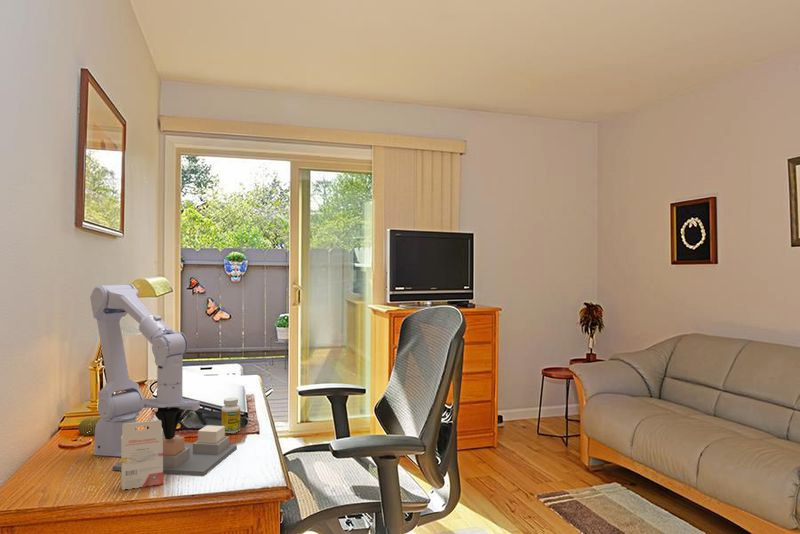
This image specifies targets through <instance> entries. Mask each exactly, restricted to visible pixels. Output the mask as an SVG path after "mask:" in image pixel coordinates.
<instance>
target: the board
mask: <svg viewBox="0 0 800 534" xmlns="http://www.w3.org/2000/svg"><path fill="white" fill-rule="evenodd" d="M175 436H176V437H181V435H179V434H175ZM237 448H238V445H235V444H230V436H226V435H225V438H224V439H223V440H222V441H220V442H219V443H218V444H208V443H198V439H197V440H195V442H185V448H184V450H183V451H182V452H180V453H179V454H177V455H176V456H163V475H165V474H166V475H167V474H169V475H180V474H182V475H183V476H198V477H199V476H200V477H201V476H202V477H204V476H206V475H207V474H208V473H209V472H210V471H212V470H213V469H214V468H215V467H217V466H218V465H219V464H220V463H221V462H222V461H224V460H225V459H226V458H228V457H229V456H230V455H231V454H233V452H235V451H236V450H237ZM113 470H119V471H118V472H121V461H119V462H118V463H116V464H114V465H113V466H112V471H113ZM182 475H181V476H182Z"/></svg>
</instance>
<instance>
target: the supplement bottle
mask: <svg viewBox="0 0 800 534" xmlns="http://www.w3.org/2000/svg"><path fill="white" fill-rule="evenodd" d="M238 403H239V399H238V397H226V398H224V400H223V406H222V408H221V426H225V434H226V433H231V434H236V432H237V433H239V432H240V431H241V406H240V405H239V404H238ZM238 431H239V432H238Z"/></svg>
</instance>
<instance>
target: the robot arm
mask: <svg viewBox="0 0 800 534" xmlns="http://www.w3.org/2000/svg"><path fill="white" fill-rule="evenodd" d="M89 298H90V305H91V311H92V316H93V318H94V319H96V323H97V330H98V335H99V341H100V346H101V347H100V348H101V353H102V360H103V365H104V370H105V377H106V384H105V385H104V386H103V387H102V388H101V389H100V390H99V391H98V392H97V396H98V403H97V411H98V414H99V417H102V418H101V419H100V420H99V421H98V422H97V424H96V427H95V434H94V452H92V455H93V456H103V457H104V456H105V457H119V458H120V457H121V437H122V425H123V424H125V423H135V422H137V417H139V416H140V412H142V410H143V409H145V408H146V409H157V410H156V411H155V412H154V415H155V418H157V420H161V422H162V429H163V432H164V436H165V439H172V438H174V436H175V435H176V430H177V428H178V424H179V422H180V419H181V418H182V417H181V416H182V414H183V413H184V411H185V410H189V411H190V410H191V411H193V412H195V411H198V410H199V409H200V408H201V407H200V406H201V405H200V404H201V403H200V400H194V399H189V398H188V399H187V398H183V361H184V360H183V359H184V358H183V356H184V355H186V353H187V351H188V349H189V344H188V343H189V342H188V339H187V337H186V335H185V333H184V332H180V331H176V330H173V329H172V328H171V327H170V326H169V325H168V324H167V323H166V321H164V320H163V319H162V317H161V315H158V314H151V313H150V311H149V309H148V308H147V307H146V306H145V304H144V303H143V302H142V301H141V300H140V293H139V290H138V289H137V288H136V287H135V285H134V284H133V283H127V284H111V285H110V284H108V285H107V284H104V285H102V284H98V285H96V286H95V287H94V288H93V290H92V292H91V294H90V297H89ZM127 314H128V315H129V316H130V317H132V319H134V320H135V321H136V322H137V323H138V324H139V326H138V330H139V332H140V333H141V335H143V336H144V338H146V339H147V341H148V342H149V343H150V344H151V351H152V353H153V357H154V363H155V365H156V366H157V367H156V368H157V369H156V370H157V371H156V375H157V377H156V379H157V380H156V381H157V384H156V388H157V389H156V390H157V391H156V393H157V396H156V397H157V398H156V397H155V398H145V397H144V395H143V394H142V391H141V389H140V385H139V383H137V382H136V381H134V380H132V379H131V378H130V376H129V369H128V365H127V359H126V353H125V347H124V340H123V335H122V330H121V324H120V322H121V320H122V318H123V317H125V316H126V315H127ZM117 392H119V393H117ZM135 430H137V427H136V428H135Z"/></svg>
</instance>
